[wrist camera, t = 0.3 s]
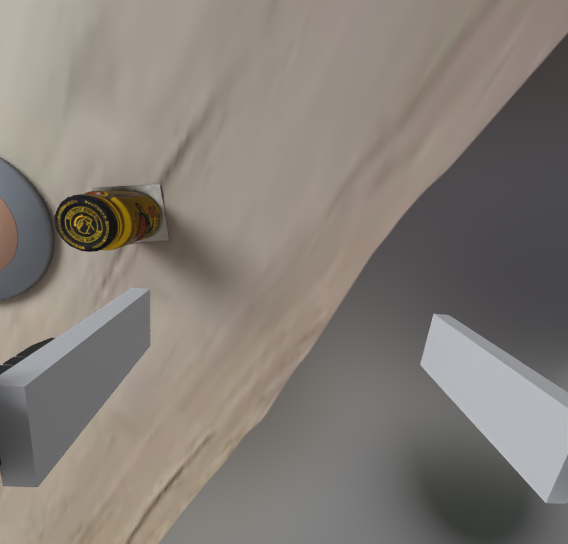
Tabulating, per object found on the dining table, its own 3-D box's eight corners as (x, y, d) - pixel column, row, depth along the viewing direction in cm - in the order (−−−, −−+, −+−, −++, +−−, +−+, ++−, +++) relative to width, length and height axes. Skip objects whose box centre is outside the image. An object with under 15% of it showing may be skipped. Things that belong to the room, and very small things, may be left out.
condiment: (169, 240, 38) (127, 258, 27) (106, 244, 38) (35, 265, 27) (160, 183, 37) (110, 177, 25) (93, 188, 36) (11, 183, 25)
